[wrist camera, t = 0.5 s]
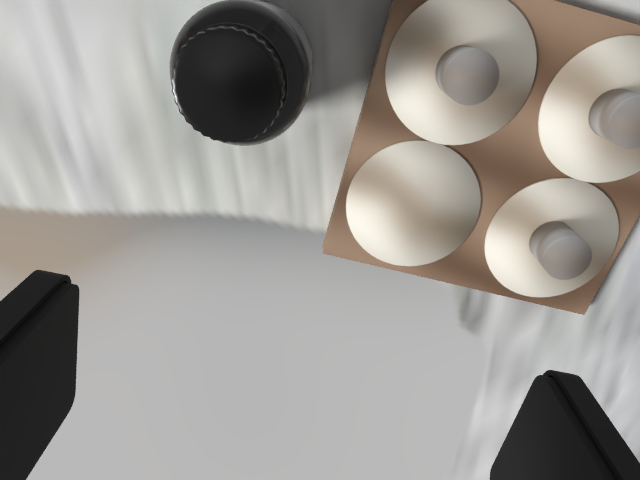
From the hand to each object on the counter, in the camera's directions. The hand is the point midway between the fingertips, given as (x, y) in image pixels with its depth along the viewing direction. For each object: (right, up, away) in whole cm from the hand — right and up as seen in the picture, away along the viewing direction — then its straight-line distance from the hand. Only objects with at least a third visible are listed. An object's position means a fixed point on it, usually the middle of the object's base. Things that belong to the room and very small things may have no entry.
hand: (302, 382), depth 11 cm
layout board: (+13, +9, +24) cm, 29 cm away
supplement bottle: (-3, +14, +22) cm, 27 cm away
